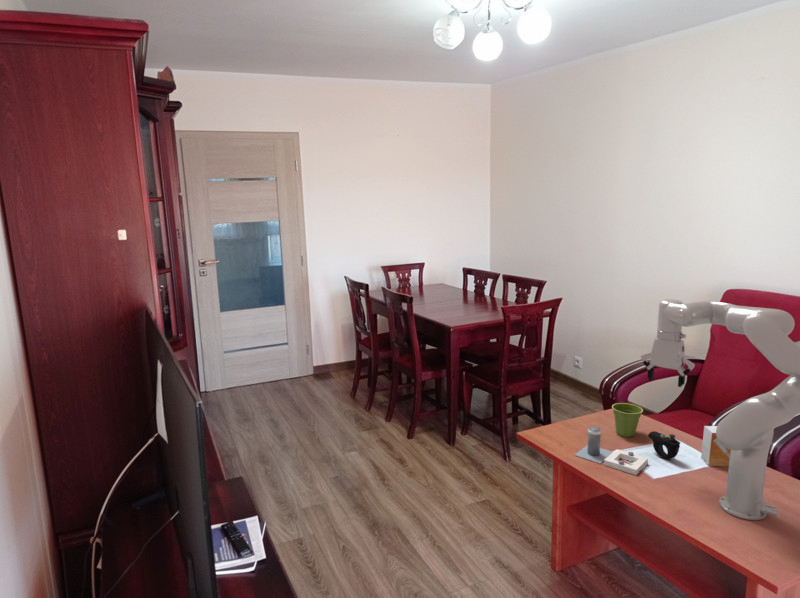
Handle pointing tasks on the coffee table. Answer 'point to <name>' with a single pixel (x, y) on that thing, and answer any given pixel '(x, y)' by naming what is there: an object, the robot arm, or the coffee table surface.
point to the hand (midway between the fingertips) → (665, 382)
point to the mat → (597, 459)
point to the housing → (620, 465)
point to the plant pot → (626, 418)
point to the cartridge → (594, 441)
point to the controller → (664, 440)
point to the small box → (714, 449)
